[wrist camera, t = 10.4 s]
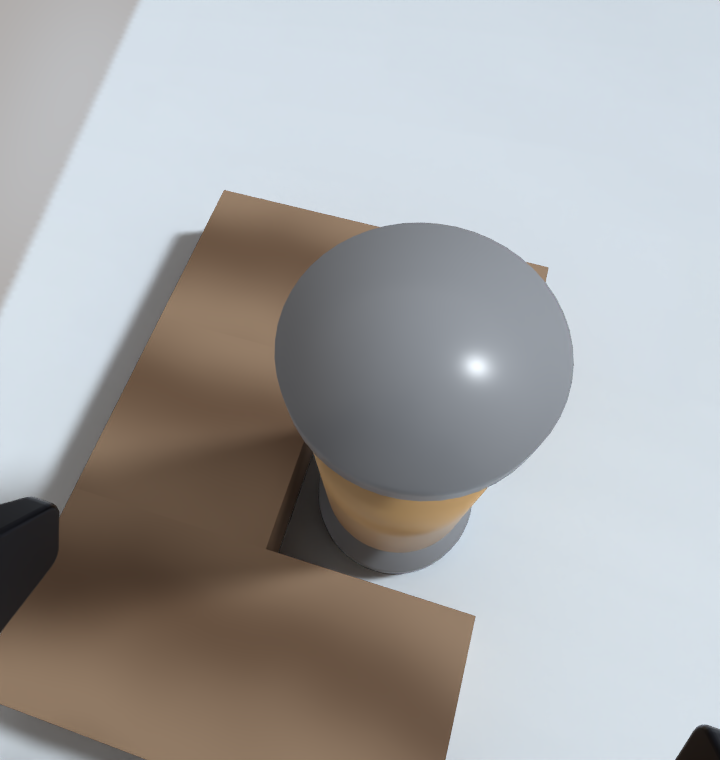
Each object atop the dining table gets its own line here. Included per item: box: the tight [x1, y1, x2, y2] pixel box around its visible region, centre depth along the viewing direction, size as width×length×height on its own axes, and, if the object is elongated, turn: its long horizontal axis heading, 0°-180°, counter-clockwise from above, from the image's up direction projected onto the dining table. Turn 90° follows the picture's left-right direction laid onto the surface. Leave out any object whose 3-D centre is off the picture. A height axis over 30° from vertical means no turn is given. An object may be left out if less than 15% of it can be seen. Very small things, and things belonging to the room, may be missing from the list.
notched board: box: [0, 190, 548, 760], centre depth 21 cm, size 20×14×2 cm
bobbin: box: [274, 223, 574, 574], centre depth 16 cm, size 6×6×13 cm
